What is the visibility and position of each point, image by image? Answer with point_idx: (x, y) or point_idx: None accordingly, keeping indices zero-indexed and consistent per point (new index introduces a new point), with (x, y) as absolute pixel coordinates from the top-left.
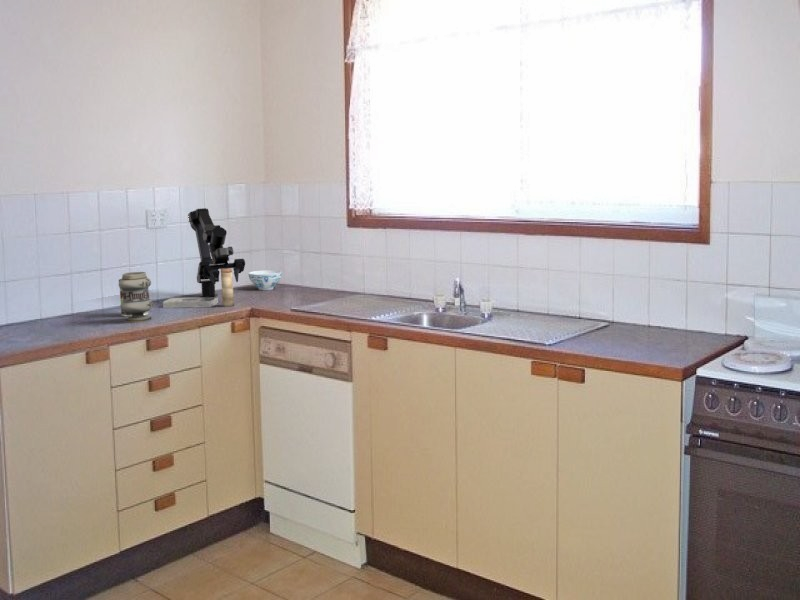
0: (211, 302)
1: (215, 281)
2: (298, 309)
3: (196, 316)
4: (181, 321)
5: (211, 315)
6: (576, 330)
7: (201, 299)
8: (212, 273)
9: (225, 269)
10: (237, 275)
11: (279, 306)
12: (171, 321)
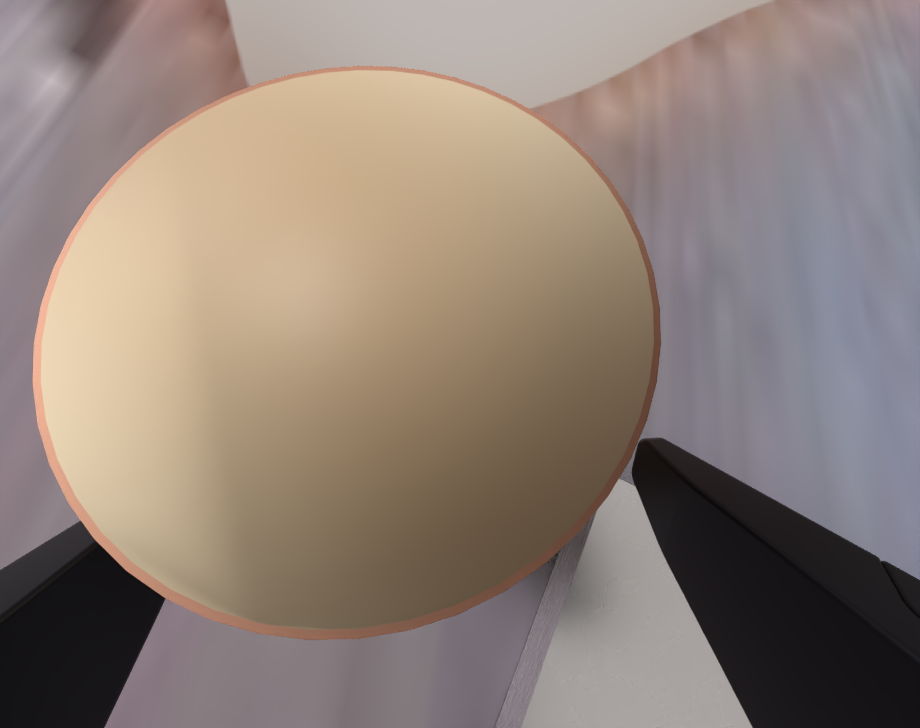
0: None
1: (653, 449)
2: (60, 41)
3: (705, 121)
4: (782, 24)
5: (611, 108)
6: None
7: (715, 672)
8: (911, 637)
9: (419, 218)
10: (18, 576)
11: (88, 204)
12: (840, 48)
